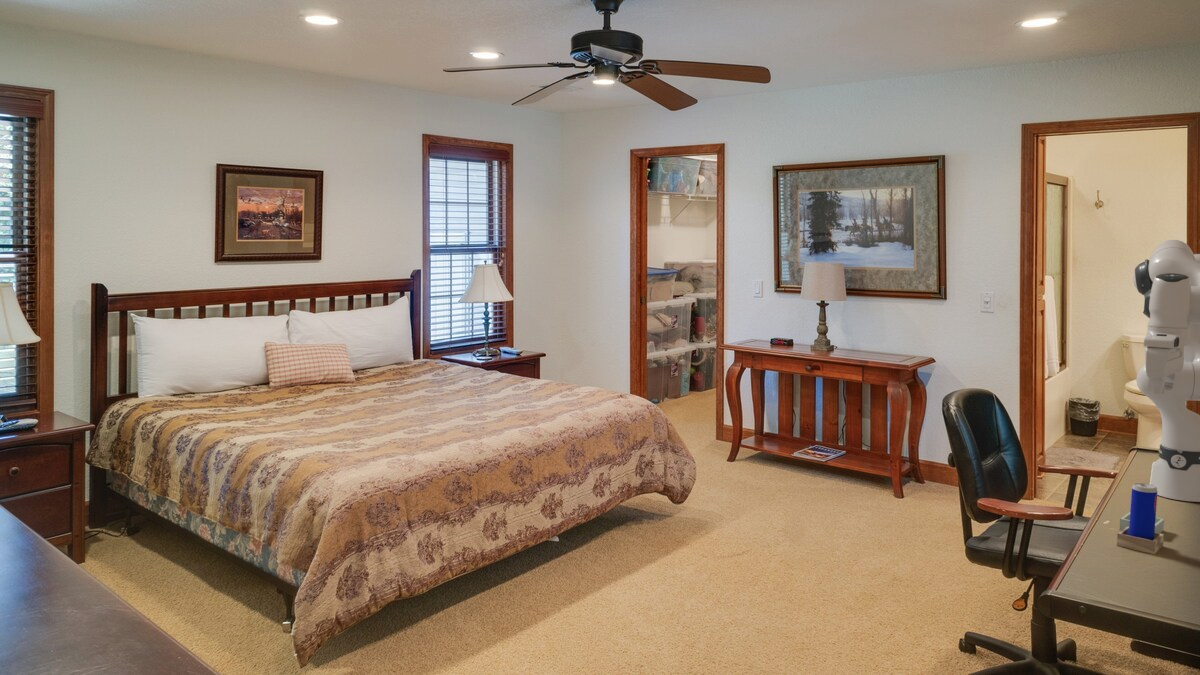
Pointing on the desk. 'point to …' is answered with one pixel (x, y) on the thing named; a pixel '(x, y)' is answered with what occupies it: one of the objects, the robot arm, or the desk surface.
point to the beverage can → (1143, 511)
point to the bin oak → (1140, 542)
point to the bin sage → (1126, 521)
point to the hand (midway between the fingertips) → (1163, 391)
